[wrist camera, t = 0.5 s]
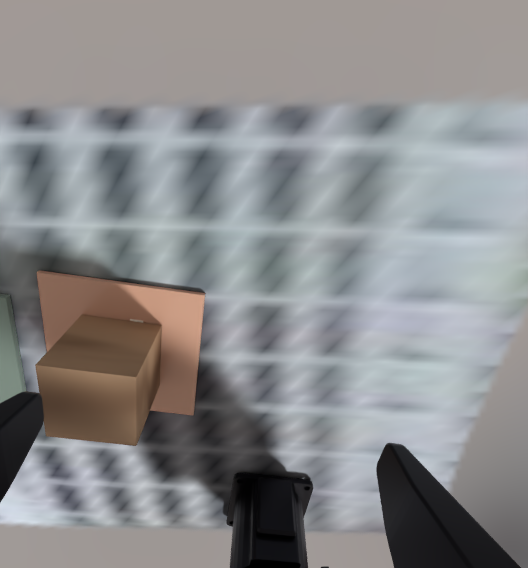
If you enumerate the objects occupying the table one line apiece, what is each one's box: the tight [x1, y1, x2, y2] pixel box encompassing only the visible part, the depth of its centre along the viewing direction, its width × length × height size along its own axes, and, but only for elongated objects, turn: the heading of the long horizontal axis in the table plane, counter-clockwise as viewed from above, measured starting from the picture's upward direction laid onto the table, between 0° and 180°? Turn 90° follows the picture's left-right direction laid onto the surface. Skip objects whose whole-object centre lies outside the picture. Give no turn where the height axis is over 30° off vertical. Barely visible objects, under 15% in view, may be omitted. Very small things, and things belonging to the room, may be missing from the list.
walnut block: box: [35, 315, 162, 446], centre depth 21 cm, size 5×5×5 cm
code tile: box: [37, 270, 205, 415], centre depth 24 cm, size 10×10×1 cm
